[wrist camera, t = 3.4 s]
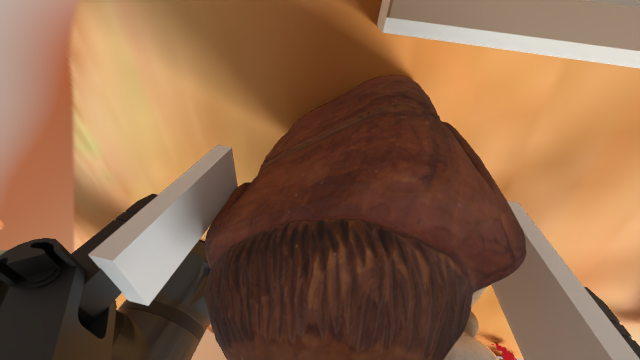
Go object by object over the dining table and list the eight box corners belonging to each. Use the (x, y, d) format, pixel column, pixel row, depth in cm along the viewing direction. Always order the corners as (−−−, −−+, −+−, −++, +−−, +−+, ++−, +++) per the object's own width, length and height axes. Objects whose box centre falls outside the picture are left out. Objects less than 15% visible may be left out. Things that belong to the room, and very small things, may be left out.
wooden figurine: (316, 172, 24) (235, 415, 9) (282, 118, 21) (87, 350, 6) (437, 126, 19) (666, 488, 4) (414, 48, 16) (859, 348, 2)
